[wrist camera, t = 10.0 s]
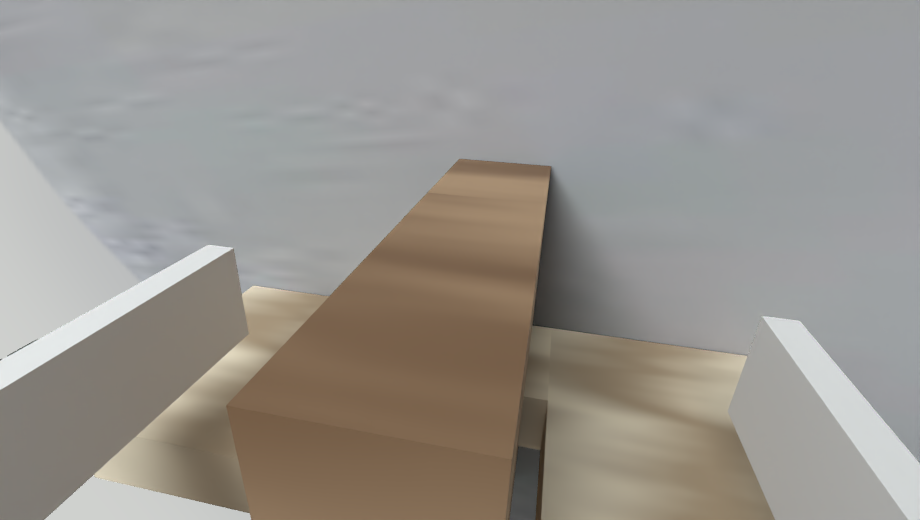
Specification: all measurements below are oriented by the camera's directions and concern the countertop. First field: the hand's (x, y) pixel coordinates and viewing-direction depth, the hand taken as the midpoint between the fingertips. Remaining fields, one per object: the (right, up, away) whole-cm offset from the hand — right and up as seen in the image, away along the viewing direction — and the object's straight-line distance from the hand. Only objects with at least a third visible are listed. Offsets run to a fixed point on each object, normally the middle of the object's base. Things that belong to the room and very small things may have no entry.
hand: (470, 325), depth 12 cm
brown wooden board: (+1, -2, +6) cm, 7 cm away
